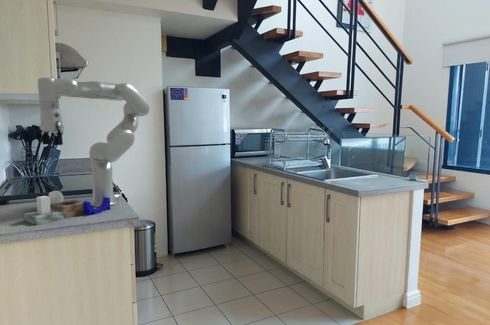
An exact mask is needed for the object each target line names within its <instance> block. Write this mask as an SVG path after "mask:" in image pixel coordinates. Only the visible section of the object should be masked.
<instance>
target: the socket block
mask: <svg viewBox="0 0 490 325" xmlns="http://www.w3.org/2000/svg"><path fill="white" fill-rule="evenodd" d="M83 202H84V201H82V200H76V199H72V200H65V201H62V202H60V203H55V204H50V205H51V206H50V214H45V215H38V214H37V211H33V212H28V213H24V214H23V215H24V221H25V222H27V223H30V224H34V225H36V226H38V225H42V224H46V223H52V222H56V221H61V220H64V219H68V218H72V217H76V216H77V217H78V216H81V215H85V214H84V209H83Z"/></svg>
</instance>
